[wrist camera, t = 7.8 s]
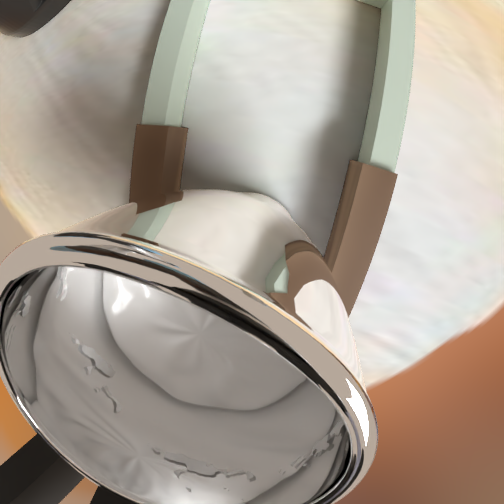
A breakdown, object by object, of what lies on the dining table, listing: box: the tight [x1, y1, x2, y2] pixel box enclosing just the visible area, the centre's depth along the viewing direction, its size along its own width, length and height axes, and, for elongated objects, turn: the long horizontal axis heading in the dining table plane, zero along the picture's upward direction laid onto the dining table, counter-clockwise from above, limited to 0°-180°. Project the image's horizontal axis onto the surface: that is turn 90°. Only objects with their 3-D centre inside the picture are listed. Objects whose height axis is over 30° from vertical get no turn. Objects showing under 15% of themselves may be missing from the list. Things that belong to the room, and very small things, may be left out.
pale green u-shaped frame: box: [141, 0, 415, 173], centre depth 11 cm, size 14×13×2 cm
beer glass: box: [0, 189, 378, 504], centre depth 10 cm, size 7×7×15 cm
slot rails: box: [129, 124, 398, 318], centre depth 17 cm, size 14×14×3 cm
